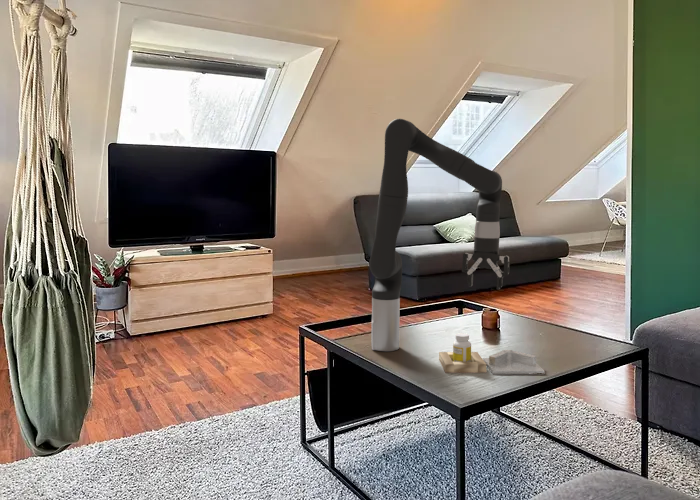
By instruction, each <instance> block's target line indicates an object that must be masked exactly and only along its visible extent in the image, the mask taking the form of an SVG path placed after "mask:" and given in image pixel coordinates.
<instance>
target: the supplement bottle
mask: <svg viewBox="0 0 700 500" xmlns="http://www.w3.org/2000/svg"><path fill="white" fill-rule="evenodd" d="M452 352H453V362H471V352H472V343H471V341H470V334H469V333H466V332H465V333H464V332H458V333H455V340H454V341H453V345H452Z"/></svg>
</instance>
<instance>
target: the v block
mask: <svg viewBox="0 0 700 500" xmlns="http://www.w3.org/2000/svg"><path fill="white" fill-rule="evenodd" d="M482 359H483V360H484V362H485V363H486V368H487V369H488V370H489V371H490V373H491V374H492V375H530V374H529V373H544V374H545V370H544V369H543V368H542V367H541V366H540V365H539V364H538V363H537V355H533V354H530V353H529V354H528V353H524V352H520V351H516V350H513V349H502V350H501V351H499V352H496V353H494V354H492V355H489V356H488V357H486V358H485V357H482Z"/></svg>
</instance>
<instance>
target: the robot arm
mask: <svg viewBox="0 0 700 500" xmlns="http://www.w3.org/2000/svg"><path fill="white" fill-rule="evenodd" d="M409 152H411V153H414V154H417V155H419V156H420V157H421V156H422V157H423V158H425V159H427V160H428V161H429V162H431V163H432V164H434V165H436V166H437V167H438V168H440V169H441V170H443V171H444V172H446V173H447V174H450V175H451V176H453V177H455V178H457V179H459V180H460V181H463V182H465V183H466V184H468V185H469V186H470V187H473V188H474V189H476V190H477V191H478V202H477V206H476V213H475V218H476V219H475V225H474V234H473V235H474V240H473V253H469V252H465V253H463V255H462V262H461V272H462V273H465V274H466V276H467V278H466V279H467V282H466V283H467V286H468V287H473V286H474V274H473V273H474V272H475V271H476V269H478V268H479V269H487V270H491V269H492V270H493V272H494V273H495V274H496V276H497V277H496V290H500V289H501V288H502V287H503V282H504V281H503V279H504V277H508V276H509V275H510V256H509V255H504V256H503V255H502V256H501V255H500V252H499V251H500V236H501V233H500V232H501V231H500V229H501V228H500V216H501V215H500V213H501V211H500V210H501V207H500V203H501V198H502V189H503V178H502V176H501V174H499V173H498V172H497V171H495V170H491V169H489V168H486V167H485V166H484V165H483V166H482V165H481V164H479V163H478V162H476V161H475V160H473V159H472V158H470V157H468V156H467V155H465V154H463V153H461V152H459V151H457V150H455V149H453V148H451V147H449V146H447V145H444V144H443V143H441V142H438V141H437V140H434V139H433V138H432V137H430V136H428V135H427V134H426V133H425V132H423V131H422V130H420V129H419V128H418V127H417V126H416V125H415V124H414V123H413V122H411V121H410V120H406V119H403V118H395V119H393V120H391V121H390V122H389V123H388V124H387V126H386V128H385V132H384V158H383V160H384V162H383V168H382V173H381V181H380V187H379V188H380V189H379V194H378V195H379V196H378V202H377V213H376V214H377V215H376V221H375V234H374V240H373V244H372V249H371V253H370V258H369V262H368V264H369V267H368V268H369V269H370V270H369V271H370V273H371V274H372V276H373V277H375V280H374V285H373V288H372V290H371V350H372V351H379V352H393V351H397V350H398V349H400V316H401V315H400V308H401V307H400V303H401V298H400V297H401V295H400V293H401V290H402V286H403V285H402V284H403V283H402V281H403V261H402V257H401V255H400V253H399V252H398V251H397V250H396V248H397V246H396V245H397V239H398V235H399V232H400V229H401V227H402V224H403V222H404V220H405V216H406V212H407V205H408V198H409V182H408V174H407V173H408V172H407V163H408V157H409V156H408V155H409ZM471 259H472V260H473V261H474V264H473V265H471V267H470V268H469V267H468V266H469V261H470V260H471ZM499 261H501V263H502V264H503V271H502V270H501V268H500V266H499V265H498V263H499Z"/></svg>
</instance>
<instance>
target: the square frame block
mask: <svg viewBox="0 0 700 500" xmlns="http://www.w3.org/2000/svg"><path fill="white" fill-rule="evenodd" d="M438 362H439V363H440V365H441V367H442V369H443V371H444V373H445V374H447V373H451V374H452V373H453V374H455V373H456V374H457V373H459V374H460V373H461V374H462V373H465V374H466V373H472V374H473V373H475V374H479V373H482V374H484V373H485V374H487V366H486V363H485V362H484V360H483V357H482V356H481V354H479V352H478V351H471V362H453V351H439V352H438Z"/></svg>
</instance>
